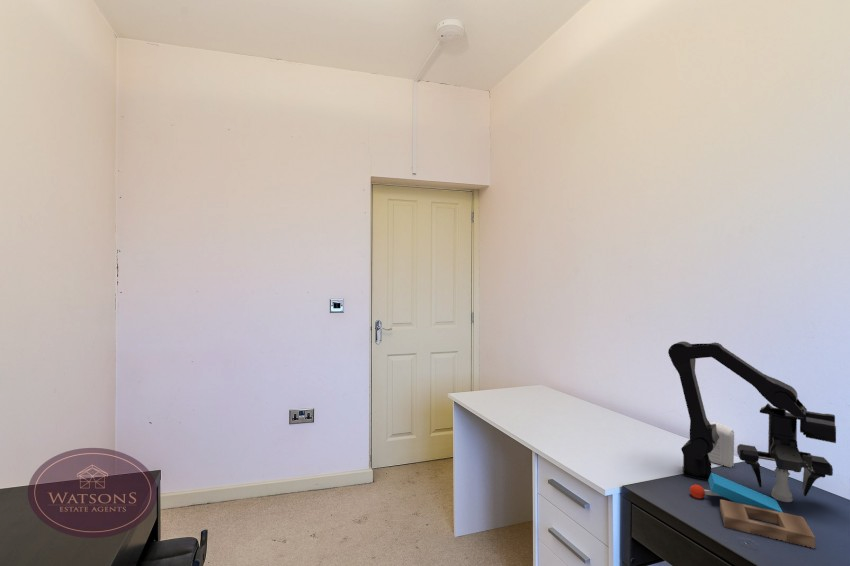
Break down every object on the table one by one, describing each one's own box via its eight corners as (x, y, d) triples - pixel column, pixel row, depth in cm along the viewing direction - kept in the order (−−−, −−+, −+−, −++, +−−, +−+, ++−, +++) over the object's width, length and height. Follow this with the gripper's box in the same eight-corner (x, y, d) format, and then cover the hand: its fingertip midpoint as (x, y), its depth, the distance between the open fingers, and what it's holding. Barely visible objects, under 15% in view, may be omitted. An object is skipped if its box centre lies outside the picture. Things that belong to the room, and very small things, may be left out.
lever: (765, 523, 108) (687, 488, 116) (775, 499, 107) (695, 465, 115) (772, 538, 102) (689, 499, 110) (783, 512, 101) (698, 476, 109)
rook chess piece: (797, 503, 109) (797, 473, 109) (777, 502, 110) (777, 471, 110) (786, 495, 113) (786, 465, 113) (767, 493, 114) (767, 464, 114)
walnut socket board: (724, 527, 98) (724, 516, 98) (719, 508, 106) (720, 499, 106) (814, 548, 91) (815, 537, 91) (802, 527, 98) (802, 516, 98)
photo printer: (736, 465, 132) (736, 426, 132) (730, 469, 129) (731, 429, 129) (699, 454, 140) (700, 417, 140) (694, 457, 137) (694, 419, 137)
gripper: (744, 435, 109) (743, 495, 109) (841, 450, 100) (840, 515, 100) (737, 423, 119) (736, 478, 119) (825, 435, 110) (824, 494, 110)
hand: (781, 490), depth 112 cm, fingers open, 9 cm apart
